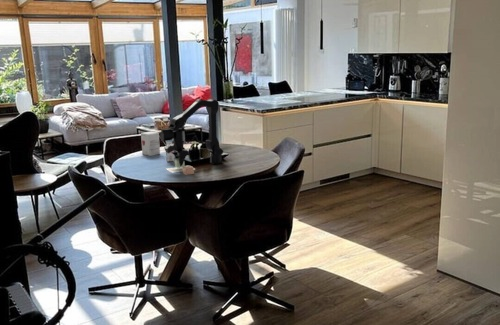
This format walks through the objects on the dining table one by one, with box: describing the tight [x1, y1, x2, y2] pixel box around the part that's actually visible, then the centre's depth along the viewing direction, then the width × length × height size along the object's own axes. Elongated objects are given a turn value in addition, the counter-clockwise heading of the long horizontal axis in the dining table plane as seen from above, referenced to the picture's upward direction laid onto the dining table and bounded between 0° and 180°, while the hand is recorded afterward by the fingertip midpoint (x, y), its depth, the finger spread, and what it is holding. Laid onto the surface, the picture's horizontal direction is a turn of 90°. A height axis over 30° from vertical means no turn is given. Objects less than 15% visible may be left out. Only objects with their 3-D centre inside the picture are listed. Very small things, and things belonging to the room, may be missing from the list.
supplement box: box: [140, 130, 161, 157], centre depth 322 cm, size 9×9×15 cm
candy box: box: [165, 139, 176, 163], centre depth 304 cm, size 14×6×16 cm, turn 169°
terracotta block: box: [181, 165, 195, 176], centre depth 269 cm, size 5×5×4 cm
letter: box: [165, 166, 182, 174], centre depth 280 cm, size 15×11×1 cm
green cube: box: [174, 158, 186, 168], centre depth 280 cm, size 4×4×4 cm
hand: (179, 164), depth 280 cm, fingers closed on green cube, 4 cm apart
